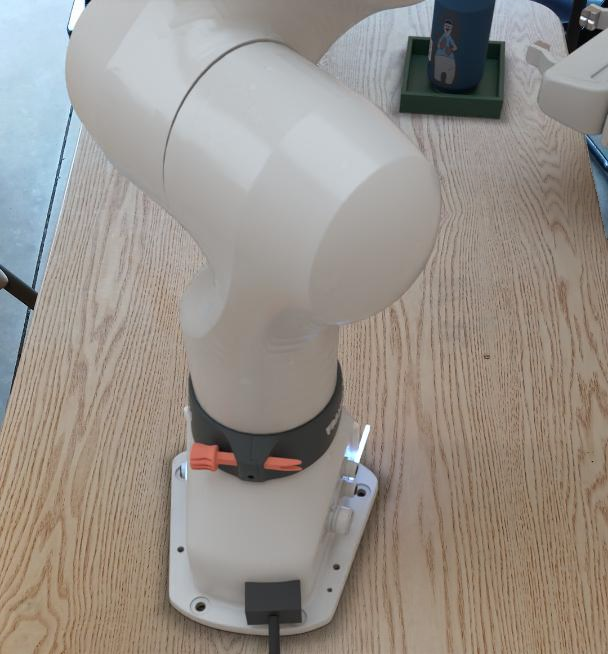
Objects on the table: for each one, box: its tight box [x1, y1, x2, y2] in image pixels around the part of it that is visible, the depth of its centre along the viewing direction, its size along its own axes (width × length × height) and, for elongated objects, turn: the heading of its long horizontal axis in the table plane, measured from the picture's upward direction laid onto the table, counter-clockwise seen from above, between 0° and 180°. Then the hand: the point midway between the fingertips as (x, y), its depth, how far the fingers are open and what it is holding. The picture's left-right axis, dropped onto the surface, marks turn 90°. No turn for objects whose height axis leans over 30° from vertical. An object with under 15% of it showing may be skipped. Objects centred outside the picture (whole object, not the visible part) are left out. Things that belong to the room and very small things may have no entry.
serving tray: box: [398, 35, 506, 120], centre depth 103 cm, size 12×12×2 cm
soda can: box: [427, 0, 497, 95], centre depth 98 cm, size 7×7×12 cm
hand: (557, 31), depth 88 cm, fingers open, 8 cm apart
